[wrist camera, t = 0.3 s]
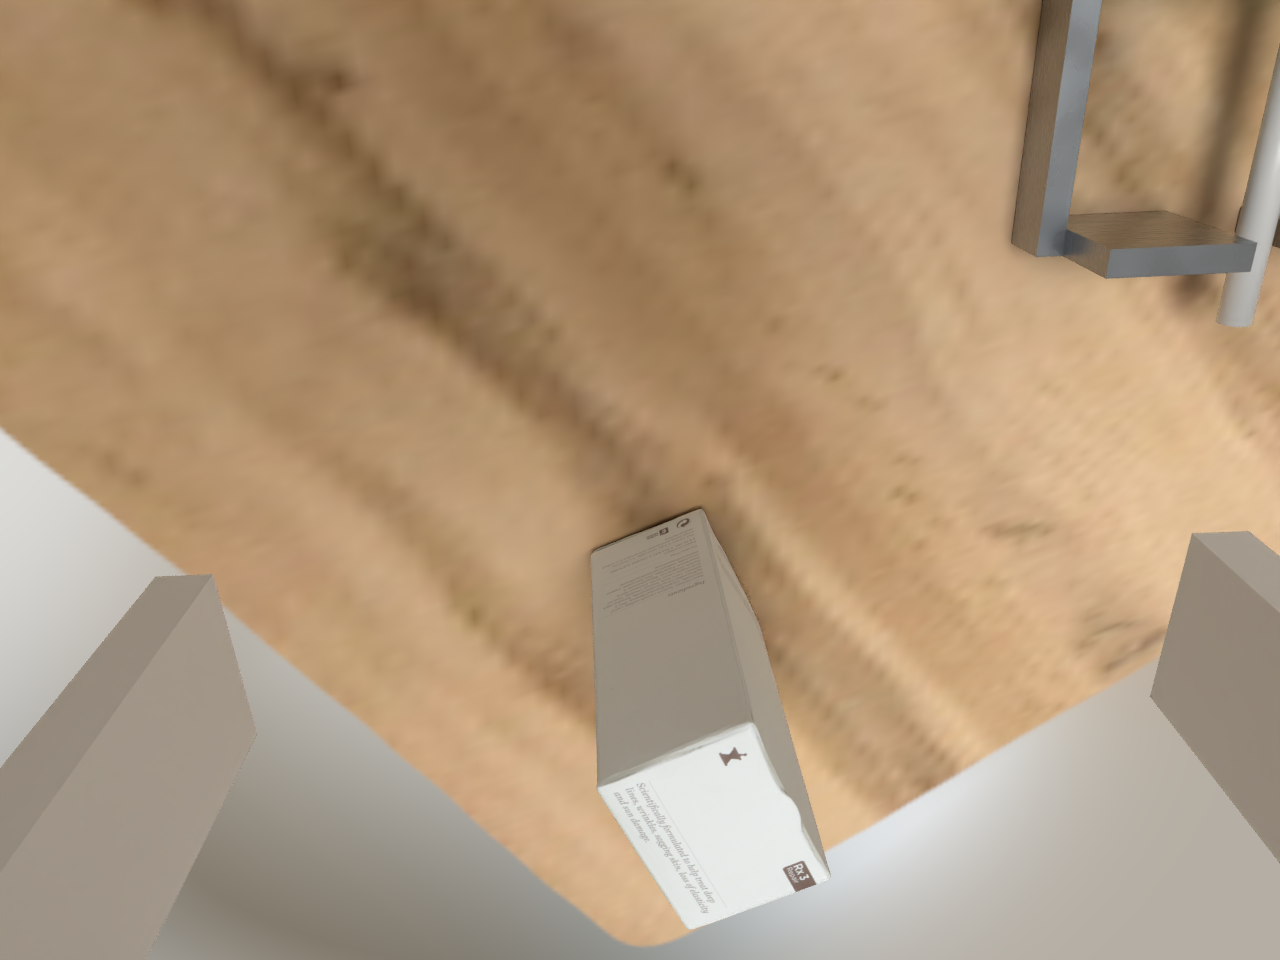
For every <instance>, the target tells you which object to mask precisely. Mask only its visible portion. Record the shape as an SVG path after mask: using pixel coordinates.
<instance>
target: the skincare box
mask: <svg viewBox="0 0 1280 960" xmlns="http://www.w3.org/2000/svg"><path fill="white" fill-rule="evenodd" d="M590 558H591V584H592V618H593V652H594V679H595V707H596V741H597V787H596V788H597V791H598V792H599V794H600V796H601V797H602V799H603V800H604V802H605V804H606V805H607V807H608V808H609V810H610V811H611V813H612V814H613V816H614V817H615V819H616V821H617V822H618V824H619V826H620V827H621V829H622V830H623V832H624V833H625V835H626V836H627V838H628V839H629V841H630V843H631V844H632V846H633V847H634V849H635V851H636V852H637V854H638V855H639V857H640V858H641V860H642V861H643V863H644V864H645V866H646V867H647V869H648V871H649V872H650V874H651V875H652V877H653V878H654V880H655V881H656V883H657V884H658V886H659V887H660V889H661V890H662V892H663V893H664V895H665V896H666V898H667V900H668V901H669V902H670V904H671V905H672V907H673V908H674V910H675V911H676V913H677V914H678V916H679V917H680V919H681V920H682V922H683V923H684V925H685V927H686V928H687V929H690V930H692V929H694V928H697V927H700V926H704V925H707V924H710V923H712V922H715V921H718V920H721V919H724V918H727V917H729V916H732V915H734V914H737V913H740V912H743V911H745V910H748V909H751V908H753V907H756V906H759V905H762V904H765V903H768V902H770V901H773V900H776V899H778V898H781V897H784V896H787V895H790V894H792V893H795V892H797V891H800V890H802V889H805V888H808V887H811V886H813V885H816V884H819V883H822V882H825V881H827V880H828V879H830V877H831V874H830V871H829V868H828V865H827V861H826V857H825V854H824V850H823V847H822V843H821V839H820V836H819V832H818V828H817V825H816V821H815V818H814V815H813V811H812V808H811V804H810V801H809V797H808V794H807V790H806V787H805V783H804V780H803V776H802V773H801V770H800V766H799V763H798V759H797V756H796V752H795V749H794V745H793V742H792V738H791V734H790V731H789V727H788V724H787V720H786V717H785V713H784V710H783V707H782V703H781V700H780V696H779V692H778V689H777V685H776V682H775V678H774V675H773V671H772V668H771V664H770V661H769V657H768V653H767V650H766V646H765V643H764V640H763V635H762V631H761V628H760V625H759V623H758V620H757V618H756V616H755V614H754V612H753V609H752V607H751V605H750V603H749V601H748V599H747V597H746V594H745V592H744V590H743V588H742V586H741V584H740V582H739V580H738V578H737V576H736V574H735V572H734V570H733V568H732V567H731V564H730V562H729V560H728V558H727V556H726V554H725V552H724V550H723V549H722V547H721V545H720V543H719V542H718V540H717V538H716V537H715V535H714V533H713V531H712V529H711V526H710V524H709V522H708V519H707V517H706V515H705V512H704V510H702V509H698V510H695V511H692V512H690V513H687V514H685V515H682V516H680V517H678V518H675V519H673V520H671V521H668V522H666V523H663V524H661V525H658V526H655V527H653V528H650V529H648V530H645V531H643V532H640V533H637V534H634V535H631V536H629V537H626V538H624V539H622V540H619V541H617V542H614V543H611V544H609V545H607V546H604V547H601V548H599V549H597V550H595V551H594V552H593V553H592V554H591V557H590Z"/></svg>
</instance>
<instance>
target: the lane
mask: <svg viewBox="0 0 1280 960" xmlns="http://www.w3.org/2000/svg"><path fill="white" fill-rule="evenodd" d="M1101 4H1102V0H1043V4H1042V12H1041V19H1040V27H1039V35H1038V42H1037V50H1036V58H1035V65H1034V73H1033V81H1032V88H1031V96H1030V104H1029V112H1028V119H1027V127H1026V135H1025V142H1024V150H1023V158H1022V165H1021V173H1020V181H1019V189H1018V196H1017V204H1016V212H1015V219H1014V227H1013V235H1012V242H1011V243H1012V244H1014V245H1016V246H1018V247H1019V248H1021V249H1023V250H1025V251H1026V252H1028V253H1030V254H1032V255H1034V256H1035V257H1048V256H1064V257H1066V258H1068V259H1070V260H1072V261H1073V262H1075V263H1077V264H1079V265H1081V266H1083V267H1085V268H1087V269H1089V270H1090V271H1092V272H1094V273H1096V274H1098V275H1100V276H1102V277H1104V278H1106V279H1107V278H1129V277H1151V276H1173V275H1195V274H1216V273H1238V272H1251V268H1252V264H1253V260H1254V256H1255V251H1256V247H1257V242H1254V241H1251V240H1248V239H1246V238H1243V237H1240V236H1237V235H1234V234H1231V233H1228V232H1225V231H1222V230H1220V229H1217V228H1214V227H1211V226H1208V225H1205V224H1202V223H1199V222H1196V221H1194V220H1191V219H1188V218H1185V217H1182V216H1179V215H1176V214H1173V213H1171V212H1168V211H1149V212H1128V213H1106V214H1084V215H1069V212H1070V205H1071V199H1072V192H1073V186H1074V179H1075V173H1076V166H1077V160H1078V153H1079V147H1080V140H1081V134H1082V127H1083V121H1084V115H1085V108H1086V102H1087V95H1088V89H1089V82H1090V76H1091V69H1092V63H1093V56H1094V50H1095V43H1096V37H1097V30H1098V24H1099V17H1100V11H1101ZM1241 209H1242V207H1241ZM1241 209H1240V213H1241ZM1240 213H1239V218H1240ZM1239 218H1238V222H1239ZM1238 222H1237V226H1238ZM1237 226H1236V231H1237ZM1236 231H1235V233H1236ZM1272 246H1275V247H1278V248H1280V214H1279V218H1278V222H1277V226H1276V230H1275V234H1274V238H1273V242H1272Z"/></svg>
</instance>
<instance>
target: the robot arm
mask: <svg viewBox="0 0 1280 960" xmlns="http://www.w3.org/2000/svg"><path fill="white" fill-rule="evenodd" d="M1150 697H1151V698H1152V699H1153V701H1154V702H1155V703H1156V705H1157V706H1158V707H1159V709H1160V710H1161V711H1162V712H1163V714H1164V715H1165V716H1166V717H1167V719H1168V720H1169V721H1170V723H1171V724H1172V725H1173V726H1174V728H1175V729H1176V730H1177V732H1178V733H1179V734H1180V736H1181V737H1182V738H1183V739H1184V740H1185V742H1186V743H1187V744H1188V746H1189V747H1190V748H1191V750H1192V751H1193V752H1194V753H1195V755H1196V756H1197V757H1198V759H1199V760H1200V761H1201V762H1202V764H1203V765H1204V766H1205V768H1206V769H1207V770H1208V771H1209V773H1210V774H1211V775H1212V777H1213V778H1214V779H1215V780H1216V782H1217V783H1218V784H1219V785H1220V787H1221V788H1222V789H1223V791H1224V792H1225V793H1226V795H1227V796H1228V797H1229V798H1230V799H1231V801H1232V802H1233V803H1234V805H1235V806H1236V807H1237V809H1238V810H1239V811H1240V812H1241V814H1242V815H1243V816H1244V818H1245V819H1246V820H1247V821H1248V823H1249V824H1250V825H1251V827H1252V828H1253V829H1254V830H1255V832H1256V833H1257V834H1258V836H1259V837H1260V838H1261V839H1262V841H1263V842H1264V843H1265V844H1266V846H1267V847H1268V848H1269V850H1270V851H1271V852H1272V854H1273V855H1274V856H1275V857H1276V858H1277V860H1278V861H1279V863H1280V556H1279V555H1277V554H1276V553H1275V552H1274V551H1272V550H1271V549H1270V548H1269V547H1268V546H1266V545H1265V544H1264V543H1263V542H1261V541H1260V540H1259V539H1258V538H1257V537H1255V536H1254V535H1253V534H1252V533H1251V532H1249V531H1241V532H1217V533H1193V534H1192V536H1191V540H1190V544H1189V548H1188V551H1187V555H1186V559H1185V563H1184V567H1183V571H1182V575H1181V578H1180V582H1179V586H1178V590H1177V594H1176V598H1175V602H1174V606H1173V609H1172V613H1171V617H1170V621H1169V625H1168V629H1167V633H1166V637H1165V640H1164V644H1163V648H1162V652H1161V656H1160V660H1159V664H1158V668H1157V671H1156V675H1155V679H1154V683H1153V687H1152V691H1151V695H1150ZM256 736H257V732H256V728H255V725H254V721H253V718H252V714H251V710H250V707H249V703H248V699H247V696H246V692H245V689H244V685H243V681H242V677H241V674H240V671H239V667H238V663H237V659H236V656H235V652H234V648H233V645H232V642H231V638H230V634H229V630H228V627H227V623H226V620H225V616H224V612H223V609H222V605H221V601H220V598H219V594H218V591H217V587H216V583H215V580H214V576H213V574H210V575H186V576H163V577H155V578H154V579H153V581H152V582H151V583H150V584H149V586H148V587H147V588H146V589H145V591H144V592H143V593H142V594H141V595H140V597H139V598H138V599H137V600H136V602H135V603H134V604H133V605H132V606H131V608H130V609H129V610H128V611H127V613H126V614H125V615H124V617H123V618H122V619H121V620H120V621H119V623H118V624H117V625H116V626H115V627H114V629H113V630H112V631H111V632H110V634H109V635H108V636H107V637H106V638H105V640H104V641H103V642H102V644H101V645H100V646H99V647H98V648H97V650H96V651H95V652H94V653H93V654H92V656H91V657H90V658H89V659H88V661H87V662H86V663H85V664H84V666H83V667H82V668H81V669H80V671H79V672H78V673H77V674H76V675H75V677H74V678H73V679H72V681H71V682H70V683H69V684H68V685H67V687H66V688H65V689H64V690H63V692H62V693H61V694H60V695H59V696H58V698H57V699H56V700H55V702H54V703H53V704H52V705H51V706H50V707H49V709H48V710H47V711H46V712H45V714H44V715H43V716H42V718H41V719H40V720H39V721H38V722H37V724H36V725H35V726H34V727H33V728H32V730H31V731H30V732H29V734H28V735H27V736H26V737H25V738H24V740H23V741H22V742H21V743H20V744H19V746H18V747H17V748H16V749H15V751H14V752H13V753H12V755H11V756H10V757H9V758H8V759H7V760H6V762H5V763H4V764H3V765H2V767H1V768H0V960H146V959H147V956H148V954H149V952H150V950H151V948H152V947H153V944H154V942H155V940H156V938H157V936H158V934H159V932H160V930H161V928H162V926H163V924H164V922H165V920H166V918H167V916H168V914H169V912H170V910H171V908H172V906H173V904H174V902H175V900H176V898H177V896H178V894H179V892H180V890H181V888H182V886H183V884H184V882H185V880H186V878H187V875H188V874H189V871H190V870H191V868H192V866H193V864H194V862H195V859H196V857H197V855H198V853H199V851H200V849H201V847H202V845H203V843H204V841H205V839H206V837H207V835H208V833H209V831H210V829H211V827H212V825H213V823H214V821H215V819H216V817H217V815H218V813H219V811H220V809H221V807H222V805H223V803H224V801H225V799H226V797H227V795H228V793H229V791H230V789H231V787H232V784H233V782H234V781H235V779H236V777H237V774H238V772H239V770H240V768H241V766H242V764H243V762H244V760H245V758H246V756H247V754H248V752H249V750H250V748H251V746H252V744H253V742H254V740H255V738H256Z"/></svg>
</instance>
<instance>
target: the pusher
mask: <svg viewBox="0 0 1280 960" xmlns="http://www.w3.org/2000/svg"><path fill="white" fill-rule="evenodd" d="M1279 214H1280V45H1279V49H1278V54H1277V58H1276V62H1275V67H1274V71H1273V75H1272V80H1271V84H1270V88H1269V93H1268V97H1267V101H1266V105H1265V110H1264V114H1263V118H1262V123H1261V127H1260V131H1259V136H1258V140H1257V144H1256V149H1255V153H1254V157H1253V162H1252V166H1251V170H1250V175H1249V179H1248V183H1247V188H1246V192H1245V196H1244V200H1243V205H1242V209H1241V213H1240V218H1239V222H1238V226H1237V231H1236V235H1237V236H1240V237H1243V238H1246V239H1248V240H1251V241H1254V242H1257V247H1256V251H1255V256H1254V260H1253V264H1252V268H1251V272H1238V273H1227V274H1226V278H1225V283H1224V287H1223V291H1222V295H1221V300H1220V304H1219V308H1218V313H1217V317H1216V322H1217V323H1219V324H1222V325H1226V326H1232V327H1248V326H1251V325H1252V323H1253V319H1254V315H1255V311H1256V307H1257V303H1258V299H1259V295H1260V291H1261V287H1262V283H1263V279H1264V275H1265V271H1266V267H1267V263H1268V259H1269V255H1270V250H1271V246H1272V242H1273V238H1274V234H1275V230H1276V226H1277V222H1278V218H1279Z"/></svg>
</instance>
